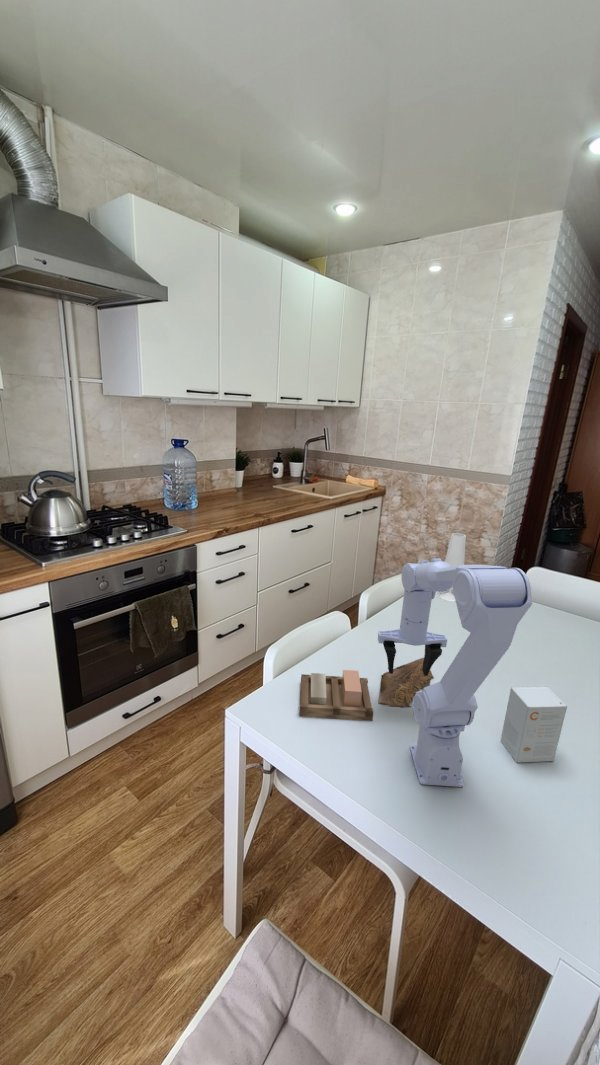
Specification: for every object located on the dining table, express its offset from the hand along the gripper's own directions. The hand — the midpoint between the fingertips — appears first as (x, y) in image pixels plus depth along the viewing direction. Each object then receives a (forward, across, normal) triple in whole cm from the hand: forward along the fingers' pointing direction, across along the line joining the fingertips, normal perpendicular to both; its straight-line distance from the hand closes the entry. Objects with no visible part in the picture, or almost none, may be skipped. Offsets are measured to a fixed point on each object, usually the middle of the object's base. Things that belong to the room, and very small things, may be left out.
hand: (407, 672), depth 99 cm
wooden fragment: (+10, -3, -11) cm, 15 cm away
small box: (+10, -23, +11) cm, 27 cm away
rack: (+9, +16, -1) cm, 18 cm away
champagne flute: (+10, -29, -64) cm, 71 cm away
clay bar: (+8, +12, -1) cm, 15 cm away
